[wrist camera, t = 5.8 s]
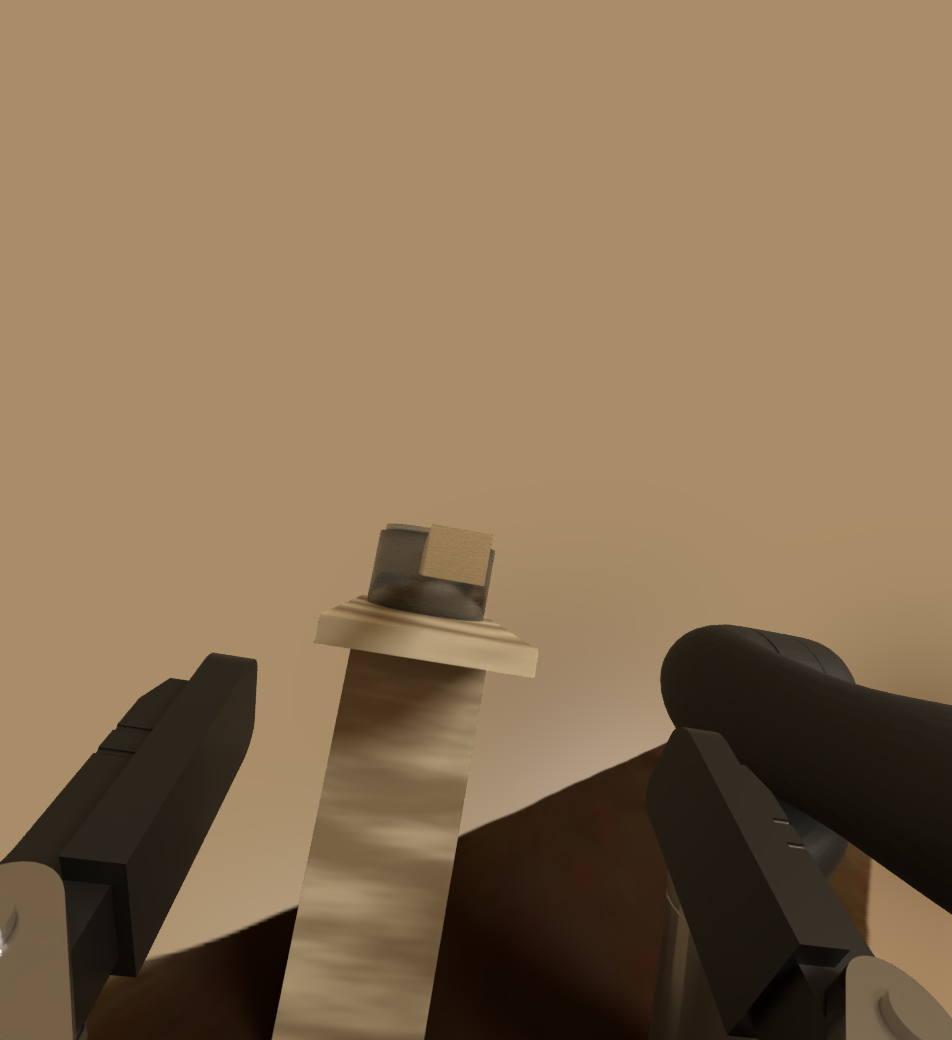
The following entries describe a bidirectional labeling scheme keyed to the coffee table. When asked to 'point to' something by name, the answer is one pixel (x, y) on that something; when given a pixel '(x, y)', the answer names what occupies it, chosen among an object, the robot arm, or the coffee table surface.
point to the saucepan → (432, 571)
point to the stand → (388, 820)
